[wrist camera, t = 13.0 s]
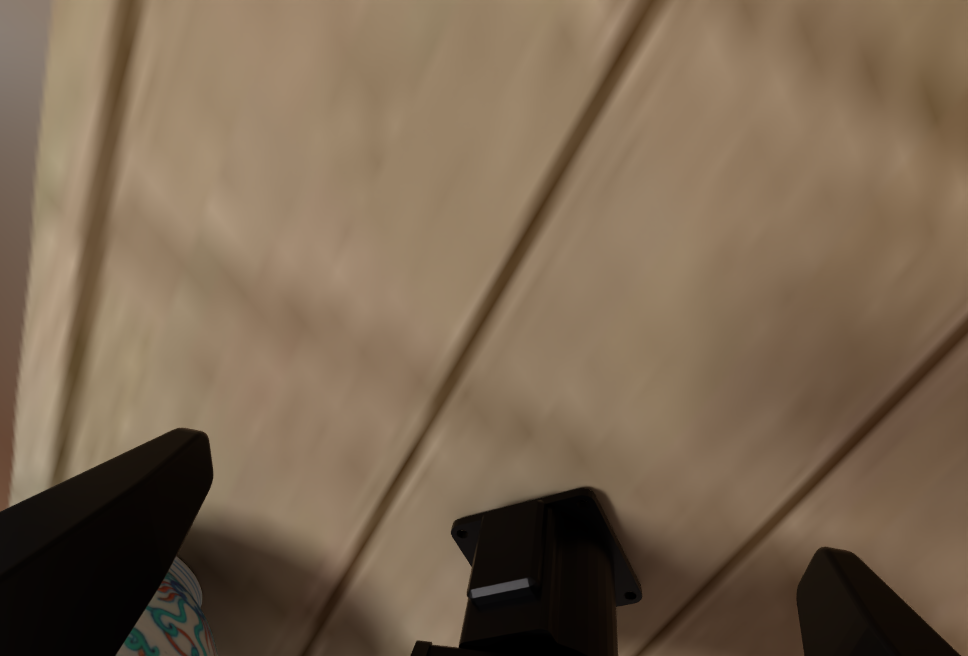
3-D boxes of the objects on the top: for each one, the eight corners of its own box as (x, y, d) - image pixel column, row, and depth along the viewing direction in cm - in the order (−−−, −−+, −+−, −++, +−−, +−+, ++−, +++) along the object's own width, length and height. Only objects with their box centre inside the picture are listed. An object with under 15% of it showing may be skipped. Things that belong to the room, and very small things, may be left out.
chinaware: (74, 659, 38) (-39, 806, 31) (-49, 463, 31) (-227, 596, 24) (309, 680, 35) (242, 844, 28) (233, 470, 28) (121, 622, 21)
